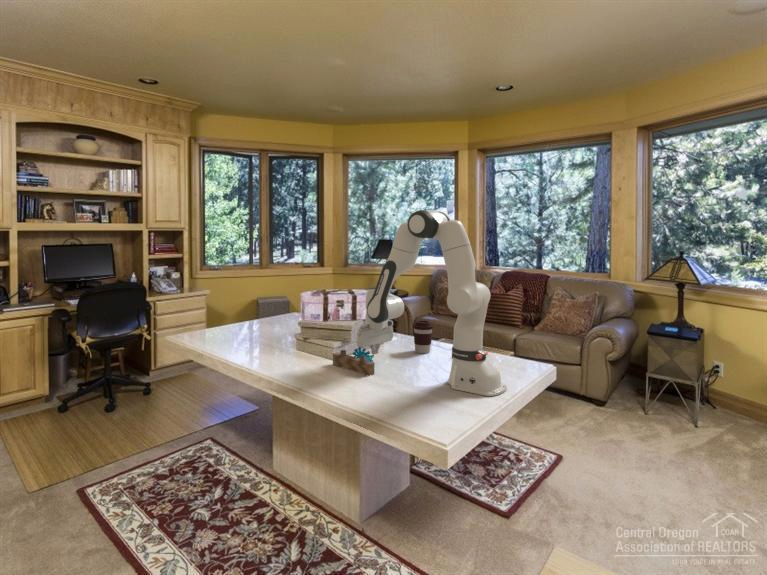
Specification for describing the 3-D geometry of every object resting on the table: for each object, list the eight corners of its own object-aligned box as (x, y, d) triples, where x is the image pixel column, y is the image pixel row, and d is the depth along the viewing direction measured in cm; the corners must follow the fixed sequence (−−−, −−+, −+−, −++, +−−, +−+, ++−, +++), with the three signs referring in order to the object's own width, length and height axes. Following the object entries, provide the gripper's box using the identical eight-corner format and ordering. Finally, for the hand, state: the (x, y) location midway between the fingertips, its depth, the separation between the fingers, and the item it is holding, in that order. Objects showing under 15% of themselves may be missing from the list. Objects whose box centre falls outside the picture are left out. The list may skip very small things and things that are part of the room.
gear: (358, 366, 187) (351, 346, 193) (351, 374, 191) (344, 354, 196) (379, 365, 194) (371, 346, 200) (372, 372, 198) (364, 353, 203)
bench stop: (374, 374, 183) (374, 357, 182) (369, 376, 181) (369, 359, 180) (337, 363, 198) (337, 347, 197) (332, 364, 195) (332, 349, 194)
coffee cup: (408, 352, 217) (409, 322, 215) (418, 348, 225) (418, 318, 224) (427, 355, 212) (427, 324, 210) (436, 351, 220) (436, 321, 218)
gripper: (363, 327, 187) (363, 360, 189) (395, 321, 202) (395, 350, 204) (353, 325, 191) (353, 357, 193) (385, 319, 206) (384, 348, 208)
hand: (375, 353), depth 199 cm, fingers closed
